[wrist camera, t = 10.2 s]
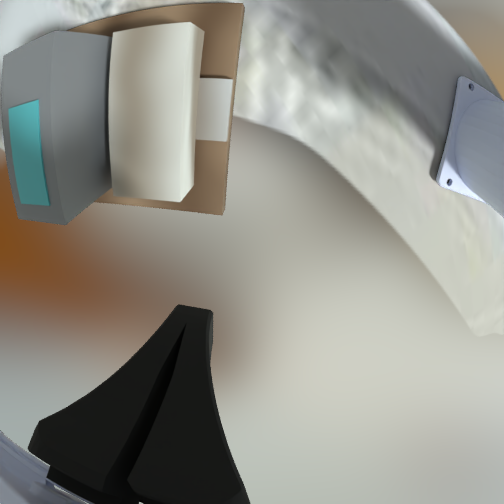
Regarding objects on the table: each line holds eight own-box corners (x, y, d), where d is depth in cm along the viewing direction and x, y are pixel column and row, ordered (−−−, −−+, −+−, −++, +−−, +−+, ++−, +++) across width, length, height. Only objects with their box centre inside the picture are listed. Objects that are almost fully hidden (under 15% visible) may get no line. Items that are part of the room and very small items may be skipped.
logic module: (124, 39, 11) (53, 30, 6) (123, 179, 16) (64, 226, 11) (73, 51, 11) (2, 56, 6) (76, 178, 16) (17, 219, 11)
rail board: (244, 8, 11) (233, -15, 7) (224, 208, 18) (211, 240, 15) (31, 48, 11) (-5, 52, 8) (38, 192, 18) (8, 214, 15)
